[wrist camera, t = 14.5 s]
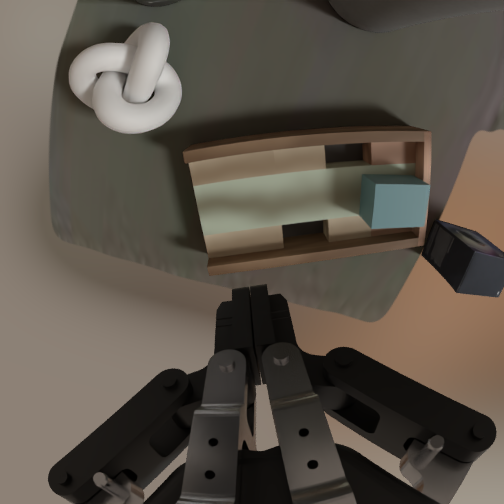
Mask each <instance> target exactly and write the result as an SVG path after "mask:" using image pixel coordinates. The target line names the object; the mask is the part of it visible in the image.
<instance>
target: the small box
mask: <svg viewBox="0 0 504 504" xmlns="http://www.w3.org/2000/svg"><path fill="white" fill-rule="evenodd" d="M422 256H423V257H424V258H425V259H426V260H427V261H428V262H429V263H430V264H431V265H432V266H433V267H434V268H435V269H436V270H437V271H438V272H439V273H440V274H441V275H442V276H443V277H444V279H446V281H447V282H448V283H449V284H450V285H451V287H452V288H453V289H454V291H455V292H456V293H463V294H472V295H481V296H489V297H499V295H500V293H501V291H502V289H503V287H504V252H503V251H501V250H500V249H499V248H498V247H496V246H495V245H494V244H492V243H491V242H490V241H489V240H487V239H486V238H485V237H483V236H482V235H481V234H479V233H478V232H476V231H473V230H470V229H467V228H463V227H460V226H457V225H454V224H450V223H447V222H443V221H440V220H435V221H434V224H433V226H432V229H431V232H430V234H429V237H428V239H427V242H426V244H425V247H424V249H423V252H422Z"/></svg>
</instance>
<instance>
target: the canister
mask: <svg viewBox="0 0 504 504" xmlns="http://www.w3.org/2000/svg"><path fill="white" fill-rule="evenodd" d="M329 3H330V4H331V6H332V7H333V8H334V10H335V11H336V12H337V13H338V15H340V16H341V17H342V18H343V19H345V20H346V21H347V22H348V23H350V24H352V25H354V26H356V27H358V28H360V29H362V30H365V31H370V32H375V33H381V32H390V31H394V30H398V29H401V28H405V27H409V26H413V25H417V24H422V23H426V22H431V21H435V20H440V19H445V18H451V17H457V16H463V15H469V14H476V13H483V12H491V11H501V10H504V0H329Z"/></svg>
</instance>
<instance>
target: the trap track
mask: <svg viewBox="0 0 504 504" xmlns="http://www.w3.org/2000/svg"><path fill="white" fill-rule="evenodd" d="M183 157H184V162H185V164H186V163H189V167H190V172H191V177H192V182H193V187H194V192H195V197H196V202H197V207H198V212H199V216H200V221H201V226H202V230H203V235H204V239H205V244H206V248H207V253H208V257H209V260H208V266H207V268H208V272H209V276H211V275H219V274H227V273H235V272H243V271H250V270H258V269H265V268H273V267H280V266H287V265H295V264H302V263H309V262H316V261H323V260H330V259H337V258H344V257H351V256H358V255H364V254H371V253H378V252H384V251H391V250H397V249H404V248H410V247H417V246H423V245H424V241H425V233H426V225H427V215H428V206H427V213H426V219H425V225H424V227H405V228H382V229H371V228H370V227H369V226H368V225H367V223H366V222H365V221H364V220H363V219H362V218H361V217H360V216H359V209H360V196H361V181H362V174H383V175H413V176H415V177H417V178H419V179H421V180H422V181H424V182H426V183H428V184H429V185H430V173H431V131H427V130H424V129H420V128H416V127H412V126H353V127H332V128H317V129H304V130H293V131H283V132H274V133H265V134H257V135H249V136H242V137H235V138H228V139H222V140H216V141H210V142H204V143H198V144H193V145H190V146H189V147H188V148H187V149H186V150H184V151H183ZM428 204H429V200H428Z"/></svg>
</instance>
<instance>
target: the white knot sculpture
mask: <svg viewBox="0 0 504 504" xmlns="http://www.w3.org/2000/svg"><path fill="white" fill-rule="evenodd" d="M169 47H170V39H169V34H168V30H167V29H166V28H165V27H164V26H163V25H162V24H160V23H153V22H150V23H147V24H144V25H142V26H140V27H138V28H137V29H136V30H135V31H134V32H133V33H132V34H131V35H130V36H129V38H128V39H127V40H126V41H125V43H124V44H123V43H100V44H96V45H93V46H90V47H88V48H86V49H85V50H83V51H82V52H81V53H80V54H79V55H78V56H77V57H76V58H75V59H74V61H73V62H72V64H71V66H70V69H69V85H70V87H71V90H72V91H73V93H74V94H75V95H76V96H77V97H78V98H79V99H80V100H81V101H82V102H83V103H84V104H86V105H87V106H89V107H91V108H92V109H94V111H95V113H96V115H97V117H98V119H99V120H100V121H101V122H102V123H103V124H104V125H105V126H106V127H108V128H110V129H112V130H114V131H117V132H121V133H127V134H136V133H143V132H146V131H150V130H153V129H155V128H157V127H159V126H161V125H163V124H164V123H165V122H167V121H168V120H169V119H170V118H171V117H172V116H173V114H174V113H175V111H176V110H177V108H178V106H179V104H180V101H181V97H182V87H181V83H180V80H179V77H178V75H177V73H176V72H175V70H174V69H173V68H172V67H171V66H170V65H169V64H168V63H167V62H166V60H167V57H168V52H169ZM103 71H104V72H103ZM99 72H103V73H102V75H101V76H100V78H99V79H98V78H97V76H96V74H97V73H99ZM125 84H126V85H125ZM124 86H125V87H124ZM123 88H124V89H123ZM153 91H154V92H155V93H154V97H153V98H152V99H151V100H150V101H148V102H147V100H148V99H149V98H150V97H151V95H152V93H153Z"/></svg>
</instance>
